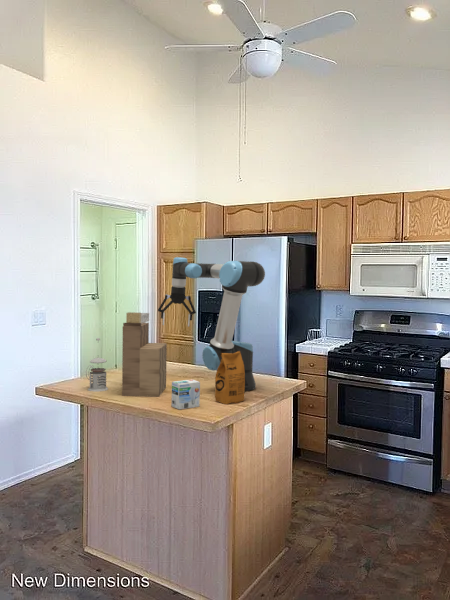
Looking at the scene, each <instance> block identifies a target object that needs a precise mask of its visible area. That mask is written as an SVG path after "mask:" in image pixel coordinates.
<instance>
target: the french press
mask: <svg viewBox="0 0 450 600" xmlns="http://www.w3.org/2000/svg"><path fill="white" fill-rule="evenodd" d="M95 340H96V341H97V342H99V341H101V338H100V337H97V338H96V339H95ZM106 362H107V359H105V358H102V357H99V356H97V357H95V358H92V359H90V360H89V363H90V364H89V365H88V366H87V368H86V371H85V376H86V379H87V380H88V381H89V387H88V388H87V391H89V392H106V391H108V390H109V388H108V387H107V371H106V369H107V368H103V367H94V365H93V364H103V363H104V364H105V363H106ZM91 364H92V365H91ZM88 368H89V369H88ZM88 377H89V378H88Z"/></svg>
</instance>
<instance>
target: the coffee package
mask: <svg viewBox="0 0 450 600" xmlns="http://www.w3.org/2000/svg"><path fill="white" fill-rule="evenodd" d="M221 356H222V359H221V362H220V365H219V367H218V369H217V370H216V373H215V377H214V379H215V380H214V381H215V384H214V386H215V388H214V398H215V401H216V402H218V403H219V404H223V405H229V404H238V403H241V402H244V401H245V391H244V390H245V370H244V364H243V360H242V356H241V353H240V351H238V352H236V353H233V354H232V353H221Z"/></svg>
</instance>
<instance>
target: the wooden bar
mask: <svg viewBox="0 0 450 600" xmlns="http://www.w3.org/2000/svg"><path fill="white" fill-rule="evenodd" d="M125 318H126V322H125V323H141V324H143V323H149V321H150V312H134V311H133V312H131V311H129V312H126V316H125Z"/></svg>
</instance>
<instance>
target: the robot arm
mask: <svg viewBox="0 0 450 600" xmlns="http://www.w3.org/2000/svg"><path fill="white" fill-rule="evenodd" d="M172 261H173V262H172V274H171V290H170V294H167V293H166V294H165V295H164V299H163V300H162V302H161V304H160V305H159V307H158V309H157V312H159V313H160V319H162V325H163V326H165V317H166V313H165V311H167V309H168V308H170V306H171V305H172V304H179V305H181V304H182V305H183V306H184V307H185V309H186V310H187V312H188V320H187V327H190V326H191V325H190V324H191V323H190V322H191V321H192V320H193V315H194V314H197V312H196V309H195V306H194V305H193V302H192V299H191V295H188V296H186V286H187V278H189V279H199V278H200V279H201V278H202V279H203V278H205V279H206V278H208V279H209V278H210V279H219V283H220V284H221V285H222V286H221V289H222V290H223V294H222V295H223V296H222V301H221V304H220V305H221V306H220V310H219V315H218V319H217V322H216V323H217V324H216V328H215V333H214V337H213V338H211V339H210V342H209V345H207V346H204V348H203V351H202V355H201V356H202V361H203V364H204V365H205V367H206V368H207V370H210V371H217V369H218V367H219V365H220V362H221V359H222V356H221V353H232V354H233V353H236V352H238V351H240V353H241V356H242V360H243V364H244V370H245V390H244V392H248V391H253V390H256V388H257V385H256V381H255V377H254V374H253V373H254V372H253V366H254V365H253V362H254V361H253V358H254V346H253V344H252V343H250V342H244V341H236V340H233V338H234V333H235V329H236V326H237V325H236V324H237V321H238V320H237V319H238V317H239V312H240V306H241V303H242V299H243V296H244V295H245V294H247V291H248V288H249V287H256V286H258V285H260V284H262V283H263V281H264V280H265V277H266V271H265V267H264V266H263V265H262V264H260V263H259V262H256V261H247V260H246V261H245V260H244V261H243V260H229V261H226V262H225V263H223V264H221V263H203V262H202V263H199V262H194V263H193V262H188V258H186V257H174V258H173V260H172ZM168 299H170V301H169V302H168V303H167V305H165V303H166V302H167V300H168ZM185 300H187V301H188V304H189V305H190V307H189V306H188V305H187V303H186V302H185ZM164 305H165V306H164ZM162 308H163V309H162Z"/></svg>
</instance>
